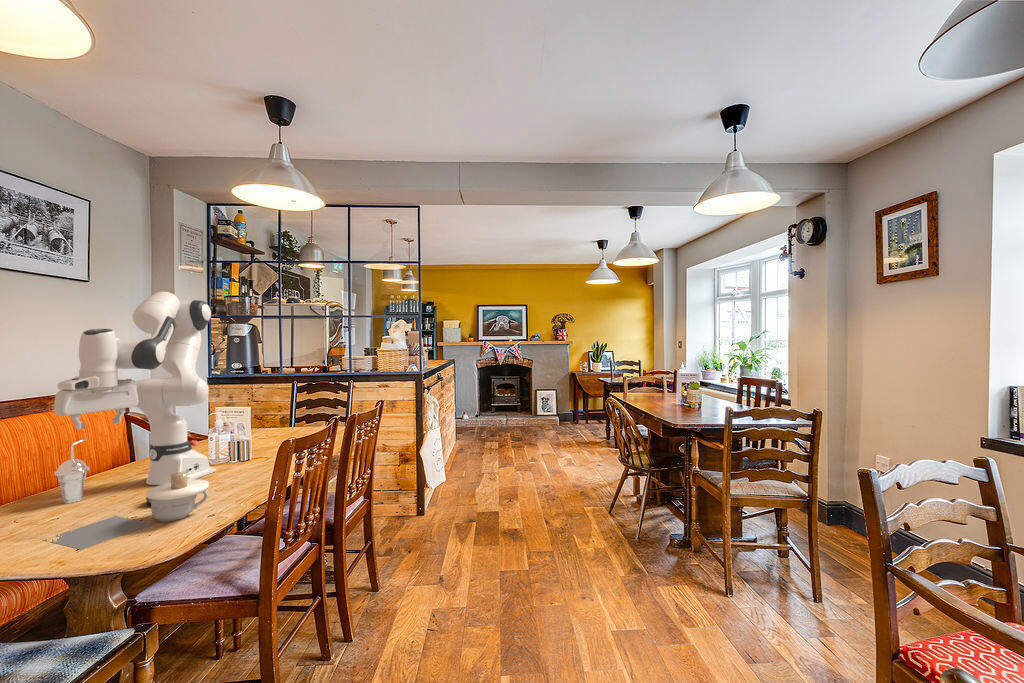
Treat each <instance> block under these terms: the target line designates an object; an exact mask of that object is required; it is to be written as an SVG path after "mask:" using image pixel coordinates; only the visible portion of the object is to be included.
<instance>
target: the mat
mask: <svg viewBox="0 0 1024 683" xmlns="http://www.w3.org/2000/svg"><path fill="white" fill-rule="evenodd" d="M151 525H154V523H152V522H148V521H142V520H138V519H132V518H126V517H123V516H117V515H115V516H112V517H108V518H106V519H103V520H100V521H96V522H92V523H89V524H87V525H83V526H80V527H77V528H74V529H71V530H67V531H66V532H62V534H61V533H59V534H60V536H58V534H55V535H56V537H59V539H57V542H54V540H53V539H52V542H53V544H56V545H60V546H64V547H68V548H73V549H76V550H80V551H83V550H85V549H88V548H91V547H94V546H96V545H100V544H102V543H105V542H108V541H110V540H113V539H116V538H118V537H122V536H125V535H127V534H129V533H133V532H135V531H138V530H141V529H144V528H146V527H147V528H148V527H150V526H151ZM73 530H74V531H73ZM71 531H72V532H71ZM61 536H62V537H61ZM45 539H46V538H45ZM46 540H47V539H46ZM52 542H51V543H52Z"/></svg>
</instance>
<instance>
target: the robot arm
mask: <svg viewBox="0 0 1024 683" xmlns="http://www.w3.org/2000/svg"><path fill="white" fill-rule="evenodd" d="M211 319H212V309H211V307H210V305H209V304H208V303H207V302H206V301H204V300H199V299H198V300H197V299H193V300H180V299H179V298H178V297H177V296H176V294H173V293H172V292H168V291H158V292H156V293H154V294H152V295H150V296H148V297H147V298H145V299H144V300H143V301H142V302H141V303H140V304H139V305H138V306H137V307H136V308H135V309H134V311H133V313H132V320H133V323H134V324H135V326H136V328H138V329H139V330H141V331H142V332H143V333H146V334H149V335H151V337H150V338H149V337H148V338H142V339H121V338H120V337H117V336H116V332H115V330H113V329H111V328H93V329H92V328H91V329H88V330H85V331H83V332H82V333H81V335H80V339H79V345H78V360H79V362H80V367H79V370H78V375H77V376H75V377H72V378H69V379H66V380H63V381H59V382H58V383H57V389H58V391H57V392H56V394H55V396H54V403H53V404H54V405H53V412H54V413H55V415H56V416H59V417H68V416H70V419H71V420H72V422H73V423H74V424H75V430H83V429H86V422H82V421H81V420H80V419H81V418H82V416H81V415H83V414H91V413H97V412H99V413H100V412H106V411H107V412H108V411H113V410H115V411H116V413H117V414H116V415H115V417H111V418H112V424H113V425H114V424H115V425H117V424H121V423H122V418H123V416H124V415H125V413H126V409H130V408H137V409H139V410H140V411H141V412H142V413H143V414H144V416H145V417H146V419H147V420H148V423H149V427H150V428H149V429H150V445H149V461H150V462H149V463H150V464H149V469H148V474H147V479H146V482H145V484H147V485H150V486H159V485H162V484H166V483H170V482H171V474H174V473H179V472H187V480H194V479H199V478H201V477H204V476H207V475H210V474H212V473H215V472H217V468H216V467H214V466H210V462H209V461H210V460H209V458H208V457H207V456H206V455H205V454H203V453H201V452H200V451H197V450H195V449H193V447H196V446H198V441H197V440H188V422H187V421H186V419H185V418H184V417H182V416H179V415H177V414H176V413H174V412H173V411H172V408H171V407H190V406H194V405H199V404H202V403H204V402H205V401H206V400H207V398H208V396H209V393H210V392H209V391H210V388H209V385H208V383H207V382H206V381H205V380H204V379H203V378H201V377H200V376H199V375H198V373H197V371H196V367H197V366H196V365H197V362H198V358H199V354H200V350H201V345H202V334H201V332H200V331H203V330H204V329H205V328H206V326H207V325H208V324H209V323H210V321H211ZM159 366H161V367H162V369H163V370H164V371H165V372H167V373H168V374H171V375H173V376H171V377H154V378H153V377H149V378H143V379H139V380H133V379H131V378H126V379H119V377H118V376H119V375H118V372H119V371H118V370H119V369H121V370H126V369H127V370H130V369H133V370H134V369H135V370H136V369H137V370H138V369H139V370H140V369H141V370H151V371H152V370H155V369H157V368H158V367H159ZM192 446H193V447H192Z"/></svg>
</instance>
